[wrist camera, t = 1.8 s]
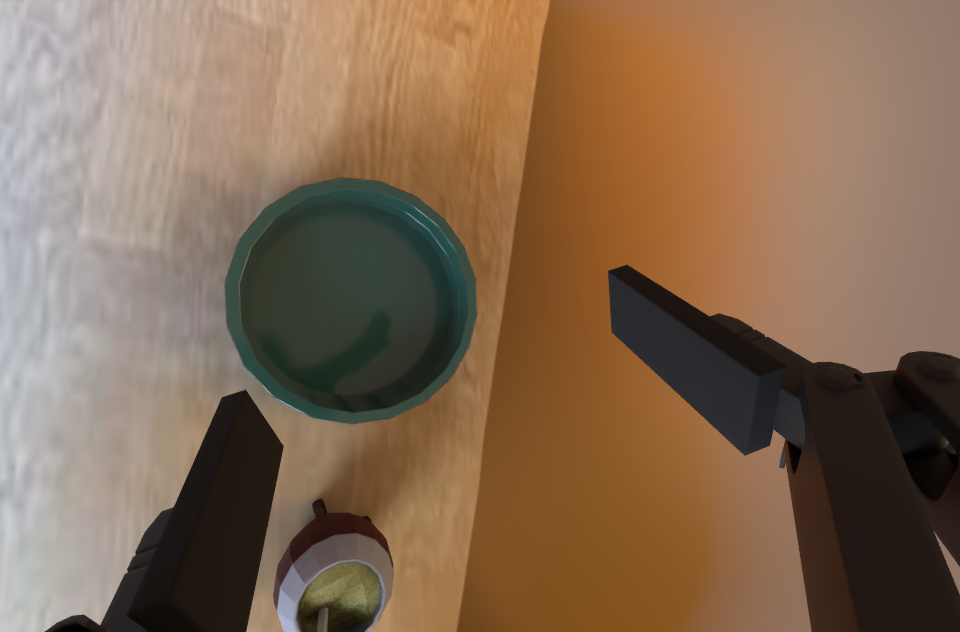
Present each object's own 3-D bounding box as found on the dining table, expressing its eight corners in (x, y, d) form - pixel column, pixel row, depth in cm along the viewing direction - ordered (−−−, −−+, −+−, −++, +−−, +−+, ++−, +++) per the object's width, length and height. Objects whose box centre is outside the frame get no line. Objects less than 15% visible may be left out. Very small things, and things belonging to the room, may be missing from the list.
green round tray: (227, 186, 29) (218, 165, 25) (452, 204, 36) (472, 189, 32) (239, 426, 29) (232, 442, 25) (461, 396, 36) (482, 405, 32)
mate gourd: (362, 475, 32) (418, 587, 18) (389, 568, 33) (461, 741, 19) (257, 519, 29) (229, 693, 15) (289, 621, 30) (290, 871, 16)
